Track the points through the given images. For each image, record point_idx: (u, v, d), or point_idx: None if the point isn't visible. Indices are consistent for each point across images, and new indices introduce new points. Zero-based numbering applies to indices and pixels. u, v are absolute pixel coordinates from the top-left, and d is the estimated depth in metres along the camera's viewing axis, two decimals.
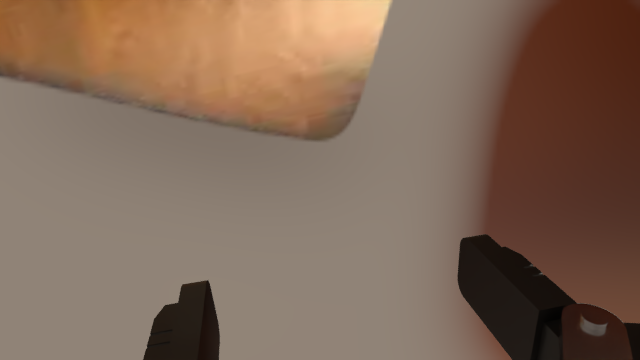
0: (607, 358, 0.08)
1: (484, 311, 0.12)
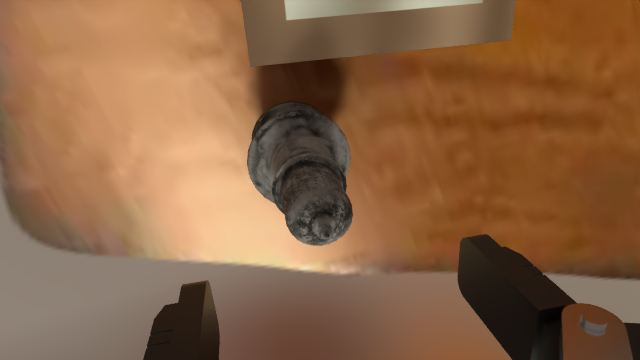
0: (607, 358, 0.08)
1: (484, 311, 0.12)
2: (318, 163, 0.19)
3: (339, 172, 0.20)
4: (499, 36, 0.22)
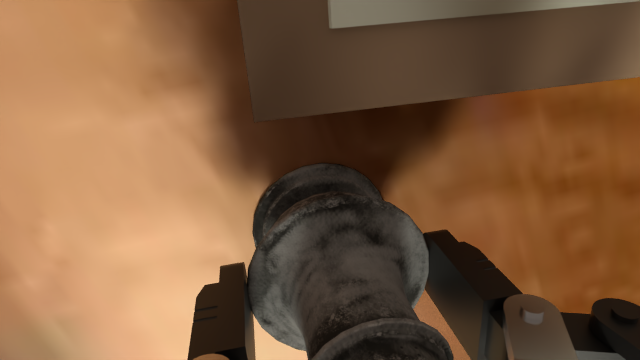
0: (550, 346, 0.08)
1: (442, 303, 0.13)
2: (404, 341, 0.09)
3: (443, 351, 0.09)
4: None
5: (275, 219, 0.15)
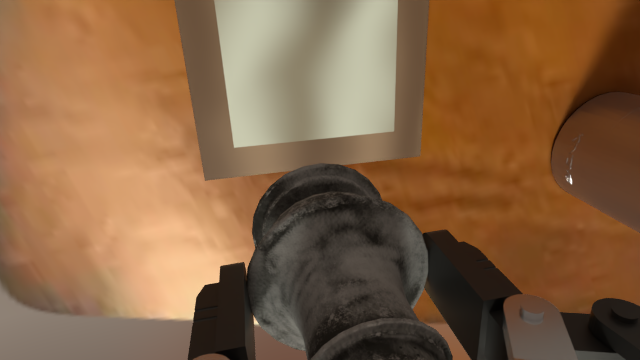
0: (550, 346, 0.08)
1: (442, 303, 0.13)
2: (403, 341, 0.09)
3: (442, 351, 0.09)
4: (410, 153, 0.27)
5: (275, 219, 0.15)
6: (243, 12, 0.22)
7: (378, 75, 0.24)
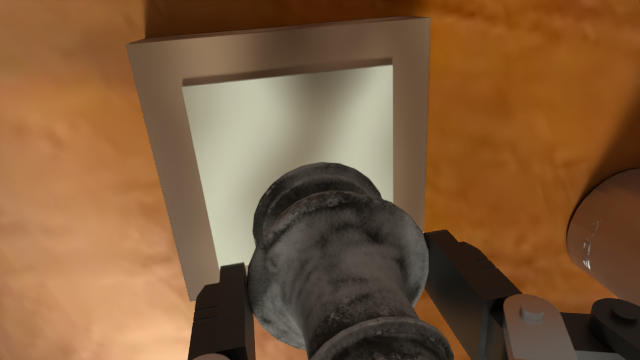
0: (550, 345, 0.08)
1: (442, 303, 0.13)
2: (404, 340, 0.09)
3: (443, 350, 0.09)
4: None
5: (275, 218, 0.15)
6: (223, 138, 0.20)
7: None
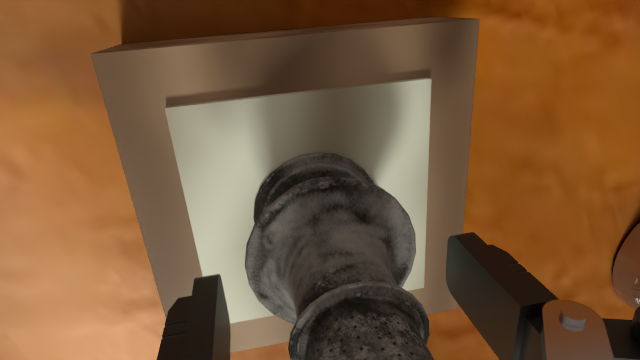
0: (588, 353, 0.08)
1: (470, 308, 0.12)
2: (381, 302, 0.10)
3: (418, 314, 0.10)
4: (444, 307, 0.21)
5: None
6: (217, 171, 0.16)
7: None
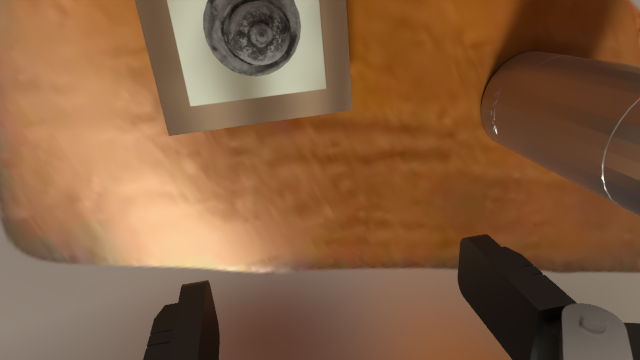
0: (607, 358, 0.08)
1: (484, 311, 0.12)
2: (262, 2, 0.21)
3: (282, 13, 0.21)
4: (343, 108, 0.32)
5: None
6: None
7: (307, 40, 0.29)
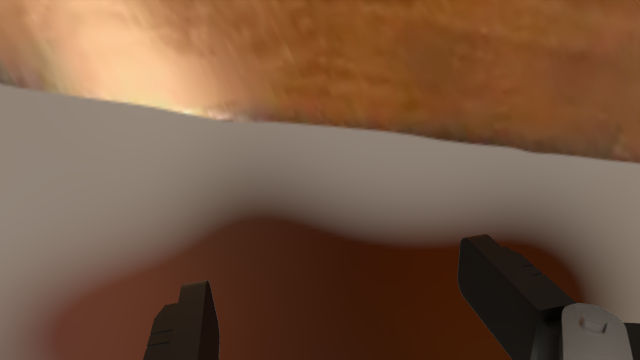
0: (607, 358, 0.08)
1: (484, 311, 0.12)
2: None
3: None
4: None
5: None
6: None
7: None
